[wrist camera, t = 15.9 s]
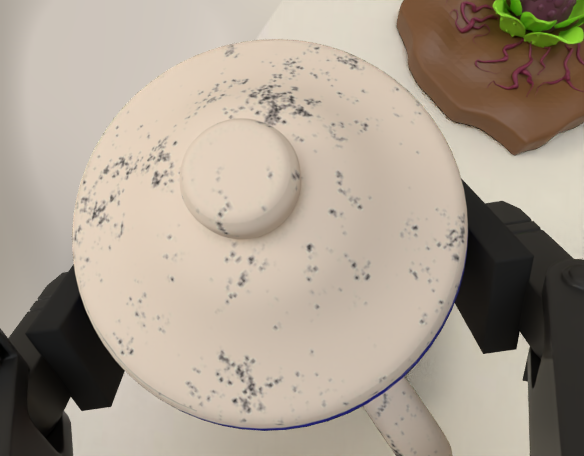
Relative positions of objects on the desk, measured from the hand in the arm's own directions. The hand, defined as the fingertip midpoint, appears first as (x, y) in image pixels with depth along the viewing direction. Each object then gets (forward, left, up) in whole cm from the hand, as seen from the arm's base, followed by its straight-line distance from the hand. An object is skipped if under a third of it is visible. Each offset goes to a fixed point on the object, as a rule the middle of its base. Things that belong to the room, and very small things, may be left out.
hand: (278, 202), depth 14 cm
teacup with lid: (+2, -3, -4) cm, 5 cm away
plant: (+14, +23, -18) cm, 33 cm away
